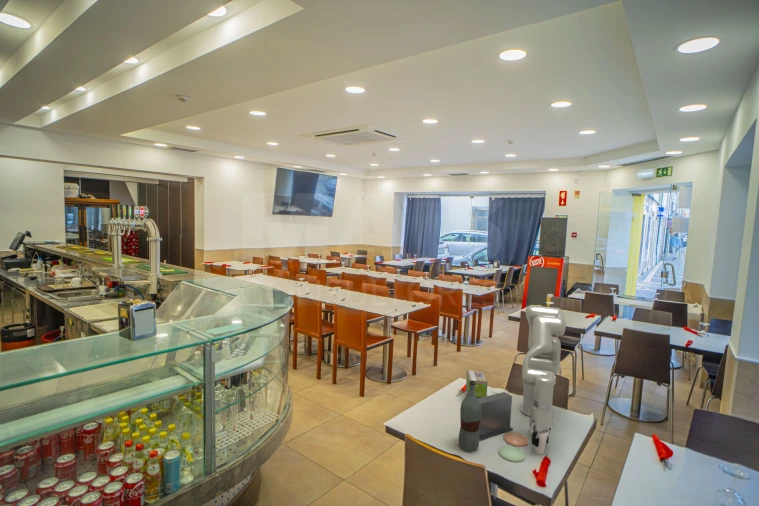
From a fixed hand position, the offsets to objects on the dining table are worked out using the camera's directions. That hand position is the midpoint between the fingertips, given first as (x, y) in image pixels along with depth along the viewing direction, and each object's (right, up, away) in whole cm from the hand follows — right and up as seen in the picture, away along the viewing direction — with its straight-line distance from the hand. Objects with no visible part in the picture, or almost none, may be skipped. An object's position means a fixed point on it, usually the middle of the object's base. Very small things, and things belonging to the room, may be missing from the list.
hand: (539, 443), depth 176 cm
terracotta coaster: (-8, -3, +9) cm, 12 cm away
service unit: (-17, -2, +16) cm, 23 cm away
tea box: (-16, 0, +51) cm, 53 cm away
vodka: (-31, -3, +2) cm, 31 cm away
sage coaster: (-13, -4, -3) cm, 14 cm away
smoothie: (0, -4, 0) cm, 4 cm away
